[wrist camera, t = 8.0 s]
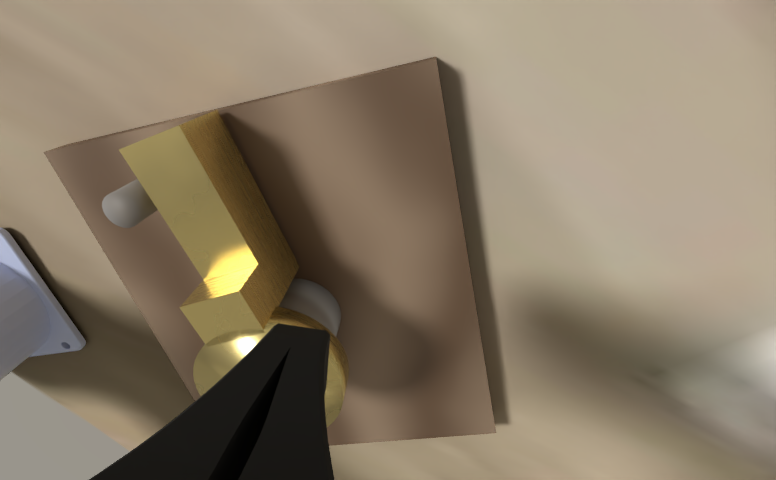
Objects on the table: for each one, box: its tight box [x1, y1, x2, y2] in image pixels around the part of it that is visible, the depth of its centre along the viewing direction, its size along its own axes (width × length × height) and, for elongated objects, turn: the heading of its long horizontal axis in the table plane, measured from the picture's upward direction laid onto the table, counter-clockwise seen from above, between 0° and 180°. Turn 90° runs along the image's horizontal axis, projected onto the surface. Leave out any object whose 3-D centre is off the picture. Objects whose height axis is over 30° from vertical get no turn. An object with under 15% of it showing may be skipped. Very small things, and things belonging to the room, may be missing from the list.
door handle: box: [119, 110, 349, 427], centre depth 17 cm, size 13×6×5 cm, turn 20°
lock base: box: [44, 57, 496, 445], centre depth 20 cm, size 17×20×4 cm
